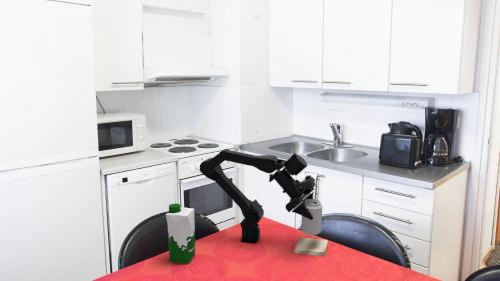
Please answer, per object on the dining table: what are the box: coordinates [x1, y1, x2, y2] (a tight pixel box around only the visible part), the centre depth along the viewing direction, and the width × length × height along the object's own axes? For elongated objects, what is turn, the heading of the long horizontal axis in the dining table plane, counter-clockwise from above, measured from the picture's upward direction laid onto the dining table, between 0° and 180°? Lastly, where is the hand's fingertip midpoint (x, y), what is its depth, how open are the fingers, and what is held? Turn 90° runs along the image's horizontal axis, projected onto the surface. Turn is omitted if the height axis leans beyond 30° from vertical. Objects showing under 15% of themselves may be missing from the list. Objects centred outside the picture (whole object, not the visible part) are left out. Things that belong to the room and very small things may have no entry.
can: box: [300, 198, 323, 236], centre depth 149 cm, size 8×8×12 cm
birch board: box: [294, 236, 329, 257], centre depth 151 cm, size 11×11×2 cm
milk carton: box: [165, 203, 196, 265], centre depth 142 cm, size 9×9×20 cm
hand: (315, 215), depth 148 cm, fingers closed on can, 7 cm apart
